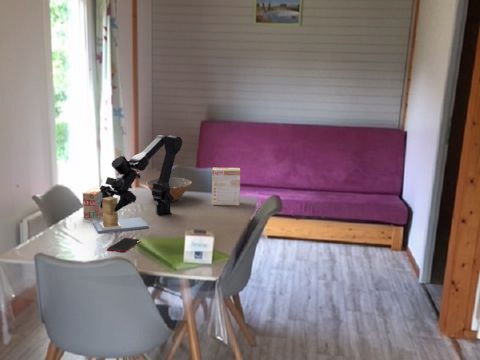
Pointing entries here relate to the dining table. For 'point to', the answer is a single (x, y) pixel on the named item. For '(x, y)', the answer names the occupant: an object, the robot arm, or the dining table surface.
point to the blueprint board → (121, 225)
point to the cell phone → (123, 245)
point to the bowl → (173, 186)
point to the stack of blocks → (92, 203)
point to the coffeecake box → (226, 186)
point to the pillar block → (109, 212)
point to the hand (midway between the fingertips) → (107, 209)
